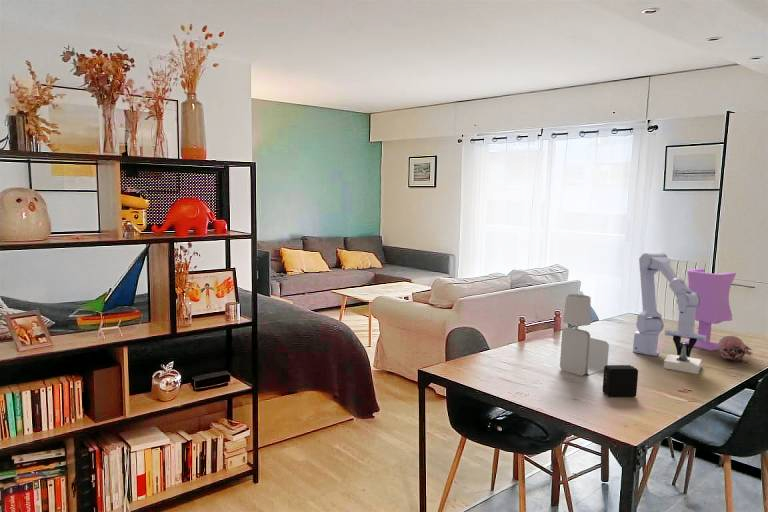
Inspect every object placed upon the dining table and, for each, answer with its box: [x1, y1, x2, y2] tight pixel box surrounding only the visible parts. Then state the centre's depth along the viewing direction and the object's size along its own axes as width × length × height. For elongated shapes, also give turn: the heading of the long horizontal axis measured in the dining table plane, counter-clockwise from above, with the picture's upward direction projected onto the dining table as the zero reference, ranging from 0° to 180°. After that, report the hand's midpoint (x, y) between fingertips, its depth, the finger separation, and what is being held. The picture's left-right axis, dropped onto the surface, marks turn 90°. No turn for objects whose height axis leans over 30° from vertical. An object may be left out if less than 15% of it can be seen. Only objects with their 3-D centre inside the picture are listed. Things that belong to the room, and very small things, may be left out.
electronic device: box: [602, 364, 639, 399], centre depth 186 cm, size 4×10×10 cm, turn 95°
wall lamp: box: [559, 293, 610, 377], centre depth 211 cm, size 10×21×30 cm, turn 131°
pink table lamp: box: [681, 268, 737, 352], centre depth 251 cm, size 16×16×35 cm
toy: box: [717, 335, 754, 363], centre depth 228 cm, size 12×11×15 cm
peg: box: [678, 341, 689, 361], centre depth 218 cm, size 3×3×7 cm
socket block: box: [663, 353, 702, 375], centre depth 219 cm, size 12×12×3 cm
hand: (683, 355), depth 219 cm, fingers closed on peg, 3 cm apart
